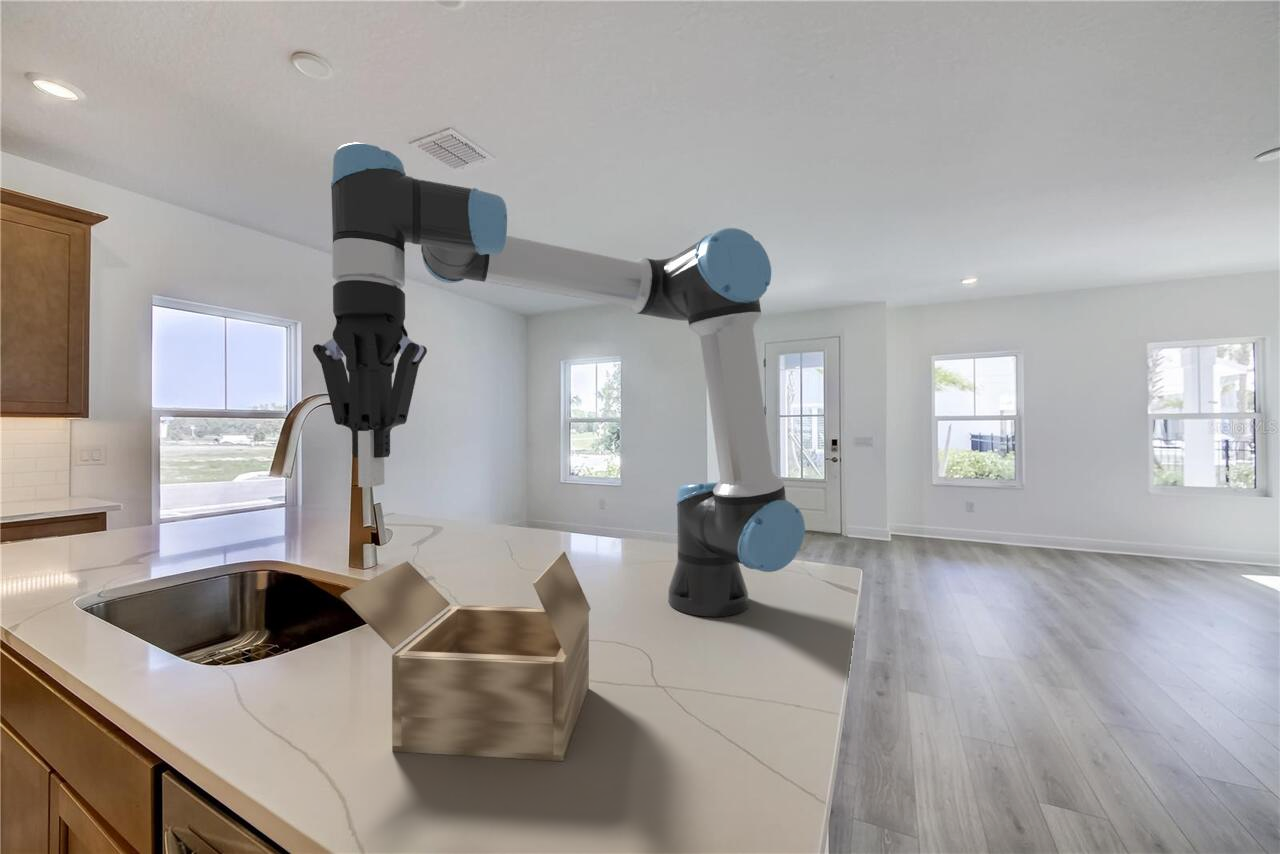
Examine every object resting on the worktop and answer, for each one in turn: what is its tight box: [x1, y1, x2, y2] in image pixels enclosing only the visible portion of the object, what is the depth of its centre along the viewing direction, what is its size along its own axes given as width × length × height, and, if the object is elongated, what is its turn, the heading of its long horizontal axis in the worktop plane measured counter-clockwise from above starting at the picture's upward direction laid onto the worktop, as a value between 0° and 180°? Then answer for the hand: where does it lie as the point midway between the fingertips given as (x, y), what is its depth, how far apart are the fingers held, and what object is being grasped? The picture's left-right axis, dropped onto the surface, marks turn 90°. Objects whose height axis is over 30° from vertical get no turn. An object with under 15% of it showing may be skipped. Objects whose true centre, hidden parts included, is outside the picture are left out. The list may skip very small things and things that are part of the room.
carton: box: [391, 604, 590, 762], centre depth 58 cm, size 18×15×10 cm
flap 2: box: [532, 550, 591, 655], centre depth 57 cm, size 8×13×1 cm
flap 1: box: [340, 560, 451, 650], centre depth 59 cm, size 8×13×1 cm
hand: (371, 485), depth 59 cm, fingers closed
